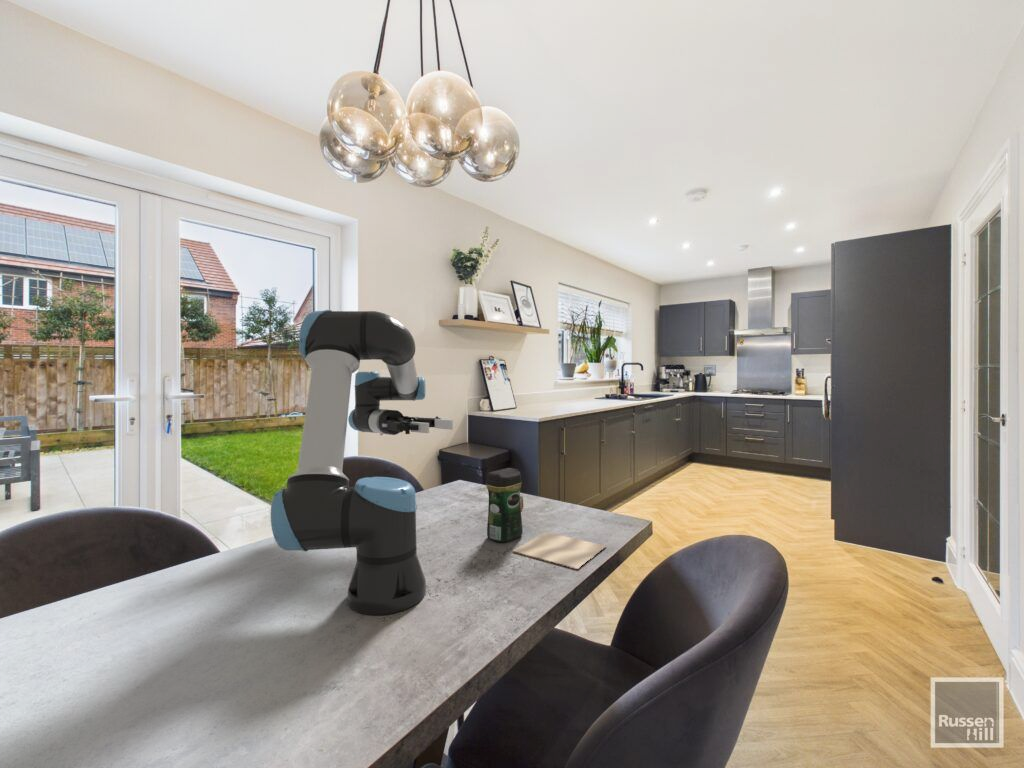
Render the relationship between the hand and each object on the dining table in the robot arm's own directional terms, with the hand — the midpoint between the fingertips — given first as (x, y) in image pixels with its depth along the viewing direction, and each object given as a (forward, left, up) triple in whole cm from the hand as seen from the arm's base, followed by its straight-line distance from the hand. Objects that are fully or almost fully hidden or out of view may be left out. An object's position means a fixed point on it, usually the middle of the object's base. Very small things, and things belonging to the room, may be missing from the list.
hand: (440, 426), depth 125 cm
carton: (+18, -17, -31) cm, 40 cm away
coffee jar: (-2, -18, -30) cm, 35 cm away
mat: (-10, -33, -30) cm, 46 cm away
